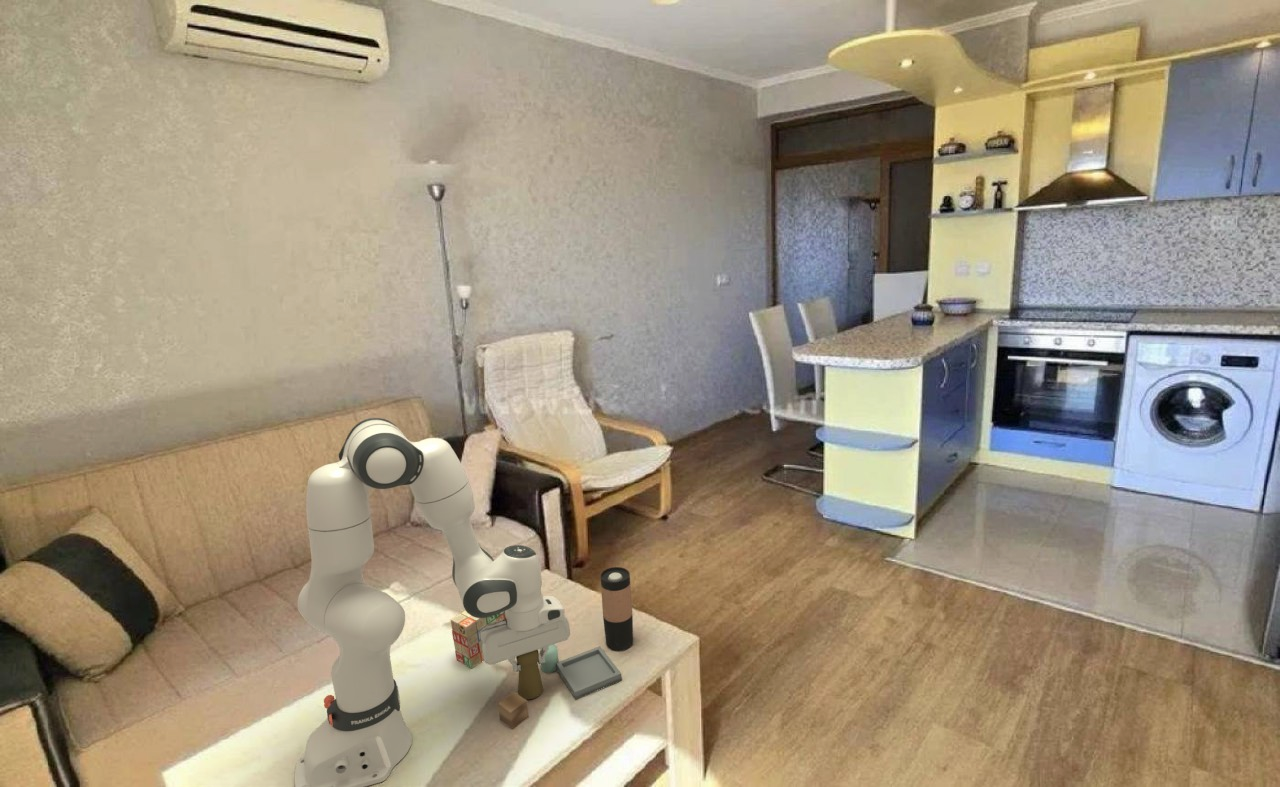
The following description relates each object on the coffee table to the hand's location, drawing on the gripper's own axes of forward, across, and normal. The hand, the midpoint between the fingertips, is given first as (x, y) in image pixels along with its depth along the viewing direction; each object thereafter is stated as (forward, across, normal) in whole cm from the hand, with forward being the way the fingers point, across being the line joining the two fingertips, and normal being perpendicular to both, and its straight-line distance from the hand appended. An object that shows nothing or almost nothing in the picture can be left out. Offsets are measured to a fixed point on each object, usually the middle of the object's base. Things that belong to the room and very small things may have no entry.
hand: (529, 666), depth 145 cm
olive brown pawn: (+7, 0, 0) cm, 7 cm away
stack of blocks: (+7, -2, +23) cm, 24 cm away
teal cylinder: (+6, +7, +6) cm, 11 cm away
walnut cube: (+7, -6, -6) cm, 11 cm away
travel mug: (+6, +26, +5) cm, 27 cm away
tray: (+6, +14, -2) cm, 15 cm away
